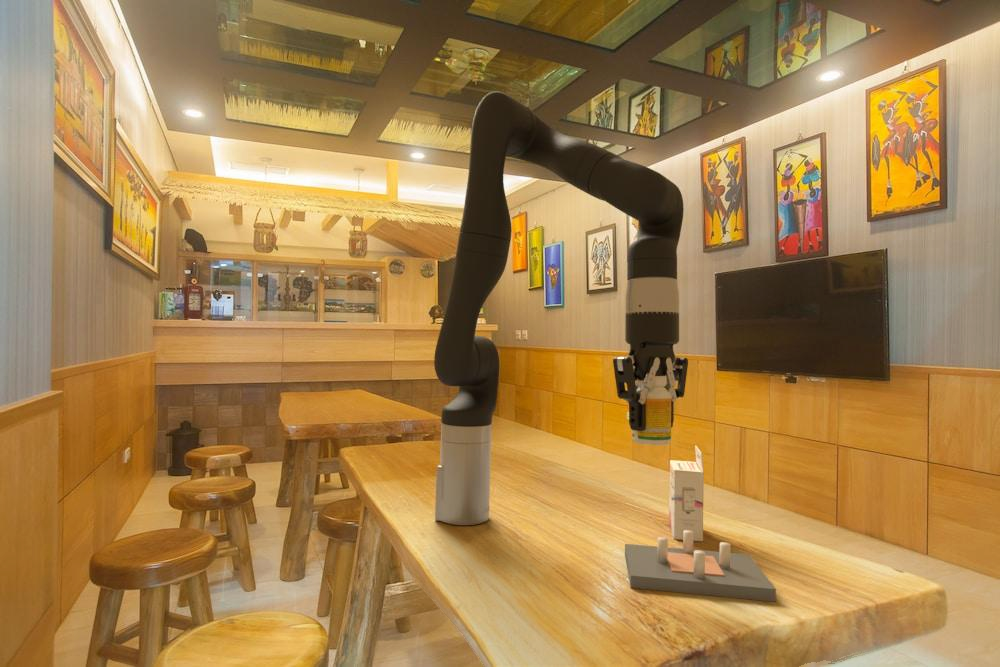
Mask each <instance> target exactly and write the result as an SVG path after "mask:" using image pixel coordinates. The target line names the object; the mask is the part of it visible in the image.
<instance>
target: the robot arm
mask: <svg viewBox="0 0 1000 667" xmlns="http://www.w3.org/2000/svg"><path fill="white" fill-rule="evenodd" d="M470 133H471V134H470V144H469V145H470V146H469V147H470V148H469V163H468V176H467V182H466V190H465V191H466V192H465V198H464V205H463V206H464V207H463V211H462V218H461V224H460V229H459V233H458V239H457V245H456V251H455V258H454V259H455V260H454V266H453V272H452V279H451V284H450V289H449V292H448V293H449V294H448V299H447V304H446V308H445V312H444V316H443V319H442V322H441V326H440V330H439V333H438V337H437V342H436V344H435V345H436V346H435V350H434V358H433V360H434V361H433V362H434V364H433V366H434V372H435V375H436V377H437V379H438V380H439V381H440V382H441V384H443V385H445V386H449V387H459V388H458V393H457V394H456V396H455V397H454V398H453V400H451V401H450V402H449V403H447V404H445V406H443V407H442V410H441V423H440V424H441V425H440V427H441V429H440V453H439V455H440V456H439V457H440V458H439V460H440V461H439V464H438V465H437V466H436V474H435V476H436V480H435V506H434V507H435V510H434V520H435V521H440V522H442V523H445V524H448V525H453V526H455V525H456V526H475V525H480V524H483V523H486V522H488V520H489V518H490V496H491V495H490V494H491V493H490V492H491V464H492V463H491V458H492V455H491V454H492V427H493V426H492V422H493V415H494V412H495V410H496V407H497V403H498V391H499V381H500V380H499V379H500V356H499V351H498V349H497V346H496V345H495V343H494V341H493V340H491V339H490V338H489V337H486V336H480V335H475V334H476V329H477V325H478V324H477V323H478V319H479V316H480V312H481V310H482V308H483V306H484V304H485V302H486V300H488V297H489V296H490V295H491V293H492V292H493V291H494V288H495V287H496V285H497V284H498V282H499V281H500V279H501V278H502V276H503V274H504V272H505V270H506V268H507V267H506V266H507V262H508V257H509V252H510V246H511V240H512V233H513V232H512V229H513V228H512V221H511V219H512V218H511V214H510V210H509V205H508V201H507V197H506V192H505V184H504V170H505V162H506V157H507V158H513V159H516V160H520V161H524V162H528V163H532V164H534V165H537V166H540V167H541V168H542V167H543V168H545V169H546V170H548V171H550V172H552V173H553V174H554V175H556V176H557V177H558V178H560V179H561V180H563V181H565V182H566V183H568V184H569V185H572V186H573V187H574V188H576V189H579V190H580V191H582V192H584V193H586V194H587V195H589V196H591V197H594V198H595V199H598V200H601V201H603V202H606V203H607V204H609V205H611V206H612V207H614V208H615V209H617V210H619V211H620V212H621V213H623V214H625V215H628V216H629V217H631V218H632V219H635V220H636V221H637V222H638V230H637V238H636V240H634V241H633V242H632V243H631V244H630V245H629V247H628V250H627V259H626V260H627V262H626V263H627V264H626V265H627V266H626V267H627V269H626V270H627V271H626V277H627V278H626V279H627V281H626V282H627V283H626V291H625V313H624V314H625V316H624V317H625V319H624V320H625V324H624V325H625V337H624V338H625V340H624V341H625V342H626V344H629V346H630V347H629V352H628V354H627V355H625V356H615V357H613V358H612V363H613V364H612V365H613V371H614V372H613V373H614V379H615V386H616V393H617V394H616V395H617V397H618V398H619V399H620V400H621V399H622V400H624V401H626V402H627V404H628V415H629V416H628V424H629V427H630V429H631V430H636V431H644V430H645V429H646V404H644V403H645V400H646V396H647V393H648V390H649V389H651V388H652V385H653V381H654V377H655V376H666V378H667V384H666V386H664V389H665V390H667V391H669V392H670V394H671V429H672V428H673V427H674V421H675V420H674V419H675V414H674V413H675V412H674V411H675V410H674V409H675V408H674V406H675V405H674V403H675V402H677V399H679V398H684V396H685V392H686V391H685V390H686V382H687V376H688V368H689V367H688V366H689V359H688V358H687V357H678V356H676V354H675V352H674V345H677V344H679V342H680V293H679V292H680V291H679V287H678V284H679V283H678V253H677V252H678V250H677V249H678V245H679V242H680V238H681V231H682V227H683V219H684V211H685V210H684V199H683V198H684V197H683V195H682V192H681V190H680V188H679V187H678V186H677V185H676V184H675V183H674V182H673V181H671V180H670V179H669V178H667V177H666V176H664V175H663V174H661V173H660V172H658V171H656V170H654V169H652V168H650V167H647V166H644V165H643V164H641V163H637V162H634V161H630V160H627V159H624V158H622V157H621V156H620V155H618V154H616V153H613V152H611V151H609V150H606V149H605V148H602V147H601V146H599V145H596V144H593V143H591V142H588V141H585V140H583V139H579V138H574V137H573V136H569V135H565V134H563V133H562V132H559V131H558V130H556V129H554V128H553V127H552V126H550V125H549V124H547V123H546V122H545V121H543V120H542V118H539V116H537V115H536V114H535V113H534V112H533V111H532V110H531V109H530V108H529V107H528V106H527V105H525V104H523V103H522V102H520V101H518V100H517V99H515V98H513V97H511V95H508V94H507V93H504V92H501V91H497V90H496V91H491V92H489V93H487V94H486V95H485V96H483V98H482V99H481V100H480V101H479V103H478V105H477V107H476V109H475V112H474V114H473V119H472V124H471V132H470ZM638 379H639V380H644V381H638ZM676 384H677V387H676V388H675V385H676ZM639 388H640V390H639V394H637V393H636V392H637V390H638V389H639ZM626 389H627V390H626Z"/></svg>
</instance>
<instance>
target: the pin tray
mask: <svg viewBox="0 0 1000 667" xmlns="http://www.w3.org/2000/svg"><path fill="white" fill-rule="evenodd" d="M682 542H683V543H682V548H681V547H680V548H679V547H678V548H676V547H669V539H668V538H667V537H664V536H659V537H657V545H656V546H653V545H643V544H630V543H624V557H625V562H626V570H627V575H628V576H627V577H628V580H629V586H630V588H631V589H642V590H653V591H662V592H673V593H682V594H692V595H700V596H701V595H703V596H711V597H712V596H713V597H721V598H722V597H723V598H732V599H733V598H734V599H741V600H742V599H744V600H752V601H764V602H772V603H775V602H776V599H777V598H776V597H777V594H776V592H777V589H776V587H775V586H774V584H772V583H771V581H770V580H769V578H768V577H767V575H765V573H764V572H763V570H761V568H760V567H759V566H758V564H757V563H756V562H755V560H754V559H753V558H752V557H751V555H750V554H748V553H747V554H746V553H735V552H731V543H729V542H724V541H722V542H721V541H720V542H719V551H714V550H713V551H712V550H702V549H694V541H693V531H690V530H684V531H683V540H682Z"/></svg>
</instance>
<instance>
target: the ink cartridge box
mask: <svg viewBox="0 0 1000 667" xmlns="http://www.w3.org/2000/svg"><path fill="white" fill-rule="evenodd" d="M694 450H695V461H690V460H674V459H672V460H669V503H668V504H669V505H668V506H669V508H668V509H669V511H668V512H669V514H668V520H669V521H668V524H669V527H670V532H671V534H672V537H673V540H680V541H683V531H684V530H690V531H693V542H703V541H704V495H705V494H704V487H705V486H704V485H705V484H704V483H705V482H704V477H705V476H704V473H705V472H704V461H703V460H704V459H703V454H702V451H701V450H700V449H699V447H698V446H697V445H694Z"/></svg>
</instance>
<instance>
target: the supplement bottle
mask: <svg viewBox="0 0 1000 667" xmlns="http://www.w3.org/2000/svg"><path fill="white" fill-rule="evenodd" d="M637 381H644V380H639V379H638V380H637ZM666 384H667V378H666V376H655V377H654V381H653V385H652V388H651V389H649V390H648V393H647V396H646V400H645V403H644V404H646V429H645V430H644V431H636V430H632V429H631V430H632V432H631V433H632V438H631V439H632V442H634V443H636V444H641V445H649V446H665V445H666V446H667V445H669V444H670V443H671V441H672V428H671V394H670V392H669V391H667V390H666V389H665V388H664V386H666ZM639 390H640V388H639V389H638V390H637V392H636V393H637V394H639Z"/></svg>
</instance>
